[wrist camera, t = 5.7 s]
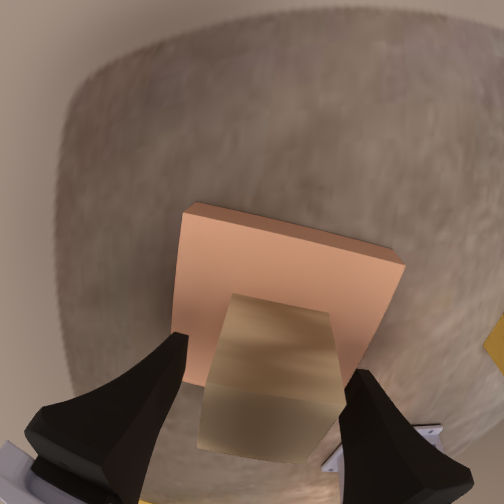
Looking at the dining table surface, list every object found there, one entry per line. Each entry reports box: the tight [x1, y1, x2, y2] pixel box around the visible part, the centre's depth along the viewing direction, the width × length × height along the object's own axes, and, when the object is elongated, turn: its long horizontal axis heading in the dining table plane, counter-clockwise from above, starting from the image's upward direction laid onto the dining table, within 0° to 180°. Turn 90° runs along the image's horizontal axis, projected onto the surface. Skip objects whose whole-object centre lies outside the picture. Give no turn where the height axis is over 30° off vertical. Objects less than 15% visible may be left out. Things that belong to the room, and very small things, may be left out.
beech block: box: [197, 293, 346, 464], centre depth 12 cm, size 4×4×6 cm
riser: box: [171, 202, 406, 388], centre depth 15 cm, size 10×10×2 cm
